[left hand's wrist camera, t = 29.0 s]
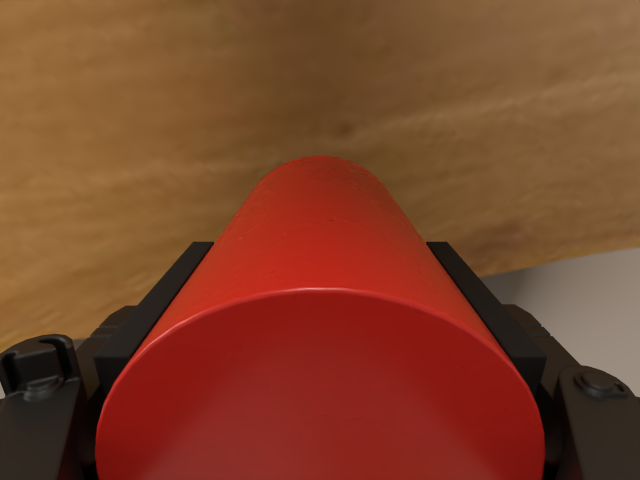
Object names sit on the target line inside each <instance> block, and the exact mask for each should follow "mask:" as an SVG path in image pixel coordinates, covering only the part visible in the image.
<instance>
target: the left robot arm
mask: <svg viewBox="0 0 640 480" xmlns="http://www.w3.org/2000/svg"><path fill="white" fill-rule="evenodd" d="M213 245H214V242H193V243H192V244H191V245H190V246H189V247H188V249H187V250H186V251H185V252H184V253H183V254H182V255H181V256H180V258H179V259H178V260H177V261H176V262H175V263H174V264H173V266H172V267H171V268H170V269H169V270H168V271H167V272H166V274H165V275H164V276H163V277H162V278H161V279H160V280H159V282H158V283H157V284H156V285H155V286H154V287H153V288H152V290H151V291H150V292H149V293H148V294H147V295H146V296H145V297H144V299H143V300H142V301H141V302H140V303H139V304H138V305H137V306H125V307H123V308H121V309H119V310H118V311H116V312H114V313H113V314H111V315H109V317H108V318H107V319H106V320H105V321H104V322H103V323H102V324H101V325H100V326H99V328H97V329H96V330H95V331H94V332H93V333H92V334H91V335H90V338H87V339H86V340H85V341H84V342H83V343H82V344H81V346H80V347H79V348H78V349H77V350H76V351H75V349H74V346H73V342H72V339H71V338H69V337H68V336H66V335H60V334H50V335H42V336H38V337H34V338H31V339H27V340H25V341H22V342H20V343H18V344H16V345H13V346H12V347H10V348H8V349H7V350H5V351H4V352H2V353H1V354H0V382H1V385H2V387H3V390H4V393H5V395H6V396H5V398H3V399H0V480H99V479H98V475H97V470H96V459H95V443H96V432H97V425H98V421H99V418H100V414H101V411H102V408H103V404H104V402H105V400H106V398H107V396H108V394H109V392H110V390H111V388H112V386H113V384H114V382H115V380H116V379H117V378H118V376H119V375H120V373H121V372H122V371H123V369H124V368H125V366H126V365H127V364H128V362H129V361H130V360H131V358H132V357H133V355H134V354H135V353H136V351H137V350H138V349H139V347H140V346H141V344H142V343H143V342H144V340H145V339H146V337H147V336H148V335H149V333H150V332H151V331H152V329H153V328H154V326H155V325H156V324H157V322H158V321H159V320H160V318H161V317H162V315H163V314H164V313H165V311H166V310H167V308H168V307H169V306H170V304H171V303H172V302H173V300H174V299H175V297H176V296H177V295H178V293H179V292H180V290H181V289H182V288H183V286H184V285H185V284H186V282H187V281H188V279H189V278H190V277H191V275H192V274H193V273H194V271H195V270H196V268H197V267H198V266H199V264H200V263H201V261H202V260H203V259H204V257H205V256H206V255H207V253H208V252H209V250H210V249H211V248H212V246H213ZM426 245H427V246H428V247H429V249H430V250H431V251H432V253H433V254H434V256H435V257H436V258H437V260H438V261H439V262H440V264H441V265H442V267H443V268H444V269H445V271H446V272H447V273H448V275H449V276H450V278H451V279H452V280H453V282H454V283H455V285H456V286H457V287H458V289H459V290H460V291H461V293H462V294H463V296H464V297H465V298H466V300H467V301H468V302H469V304H470V305H471V307H472V308H473V309H474V311H475V312H476V313H477V315H478V316H479V318H480V319H481V320H482V322H483V323H484V325H485V326H486V327H487V329H488V330H489V331H490V333H491V334H492V336H493V337H494V338H495V340H496V341H497V342H498V344H499V345H500V347H501V348H502V349H503V351H504V352H505V353H506V355H507V356H508V358H509V359H510V360H511V362H512V363H513V365H514V366H515V367H516V369H517V370H518V372H519V373H520V375H521V376H522V378H523V379H524V380H525V382H526V383H527V385H528V386H529V389H530V391H531V393H532V395H533V397H534V400H535V402H536V404H537V406H538V409H539V413H540V417H541V421H542V425H543V429H544V438H545V463H544V470H543V477H542V480H640V397H636V396H635V395H634V394H633V393H632V391H631V390H630V389H629V387H628V386H627V385H625V384H624V383H623V382H621V381H620V380H619V379H617V378H616V377H614V376H612V375H610V374H608V373H606V372H604V371H602V370H598V369H595V368H592V367H589V366H582V365H580V364H579V363H578V362H577V361H576V360H575V359H574V358H573V357H572V356H571V355H570V354H569V353H568V352H567V351H566V350H565V349H564V348H563V347H562V346H561V345H560V343H559V342H558V341H557V340H556V339H555V338H554V337H553V336H550V333H549V332H548V331H547V330H546V329H545V328H544V327H541V324H540V323H539V322H538V321H537V320H536V319H535V318H534V317H533V316H532V315H531V314H530V313H528V312H527V311H525V310H523V309H521V308H520V307H518V306H516V305H511V304H508V305H507V304H504V305H503V304H501V303H500V302H499V301H498V299H497V298H496V297H495V296H494V295H493V294H492V293H491V292H490V290H489V289H488V288H487V287H486V286H485V285H484V284H483V282H482V281H481V280H480V279H479V278H478V277H477V276H476V274H475V273H474V272H473V271H472V270H471V269H470V268H469V266H468V265H467V264H466V263H465V262H464V261H463V260H462V258H461V257H460V256H459V255H458V254H457V253H456V252H455V251H454V249H453V248H452V247H451V246H450V245H449V244H448V243H447V242H426Z"/></svg>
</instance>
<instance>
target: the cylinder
mask: <svg viewBox="0 0 640 480" xmlns="http://www.w3.org/2000/svg"><path fill="white" fill-rule="evenodd" d="M95 459H96V470H97V475H98V479H99V480H542V477H543V470H544V463H545V438H544V429H543V425H542V421H541V417H540V413H539V409H538V406H537V404H536V402H535V400H534V397H533V395H532V393H531V391H530V389H529V386H528V385H527V383H526V382H525V380H524V379H523V378H522V376H521V375H520V373H519V372H518V370H517V369H516V367H515V366H514V365H513V363H512V362H511V360H510V359H509V358H508V356H507V355H506V353H505V352H504V351H503V349H502V348H501V347H500V345H499V344H498V342H497V341H496V340H495V338H494V337H493V336H492V334H491V333H490V331H489V330H488V329H487V327H486V326H485V325H484V323H483V322H482V320H481V319H480V318H479V316H478V315H477V313H476V312H475V311H474V309H473V308H472V307H471V305H470V304H469V302H468V301H467V300H466V298H465V297H464V296H463V294H462V293H461V291H460V290H459V289H458V287H457V286H456V285H455V283H454V282H453V280H452V279H451V278H450V276H449V275H448V273H447V272H446V271H445V269H444V268H443V267H442V265H441V264H440V262H439V261H438V260H437V258H436V257H435V256H434V254H433V253H432V251H431V250H430V249H429V247H428V246H427V245H426V243H425V242H424V240H423V239H422V238H421V236H420V235H419V233H418V232H417V231H416V229H415V228H414V227H413V225H412V224H411V222H410V221H409V220H408V218H407V217H406V216H405V214H404V213H403V211H402V210H401V209H400V207H399V206H398V204H397V203H396V202H395V200H394V199H393V198H392V196H391V195H390V193H389V192H388V191H387V189H386V188H385V187H384V185H383V184H382V183H381V182H380V181H379V180H378V179H377V178H376V177H375V176H374V175H373V174H371V173H370V172H369V171H368V170H366V169H364V168H363V167H361V166H359V165H357V164H355V163H353V162H351V161H348V160H345V159H341V158H338V157H331V156H310V157H303V158H299V159H295V160H292V161H290V162H287V163H285V164H283V165H281V166H279V167H277V168H276V169H274V170H273V171H271V172H270V173H269V174H267V175H266V176H265V177H264V178H263V179H262V180H261V181H260V182H259V183H258V184H257V186H256V187H255V188H254V190H253V191H252V192H251V194H250V195H249V197H248V198H247V199H246V201H245V202H244V203H243V205H242V206H241V208H240V209H239V210H238V212H237V213H236V214H235V216H234V217H233V219H232V220H231V221H230V223H229V224H228V226H227V227H226V228H225V230H224V231H223V232H222V234H221V235H220V237H219V238H218V239H217V241H216V242H215V243H214V245H213V246H212V248H211V249H210V250H209V252H208V253H207V255H206V256H205V257H204V259H203V260H202V261H201V263H200V264H199V266H198V267H197V268H196V270H195V271H194V273H193V274H192V275H191V277H190V278H189V279H188V281H187V282H186V284H185V285H184V286H183V288H182V289H181V290H180V292H179V293H178V295H177V296H176V297H175V299H174V300H173V302H172V303H171V304H170V306H169V307H168V308H167V310H166V311H165V313H164V314H163V315H162V317H161V318H160V320H159V321H158V322H157V324H156V325H155V326H154V328H153V329H152V331H151V332H150V333H149V335H148V336H147V337H146V339H145V340H144V342H143V343H142V344H141V346H140V347H139V349H138V350H137V351H136V353H135V354H134V355H133V357H132V358H131V360H130V361H129V362H128V364H127V365H126V366H125V368H124V369H123V371H122V372H121V373H120V375H119V376H118V378H117V379H116V380H115V382H114V384H113V386H112V388H111V390H110V392H109V394H108V396H107V398H106V400H105V402H104V404H103V408H102V411H101V414H100V418H99V421H98V425H97V432H96V443H95Z"/></svg>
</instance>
